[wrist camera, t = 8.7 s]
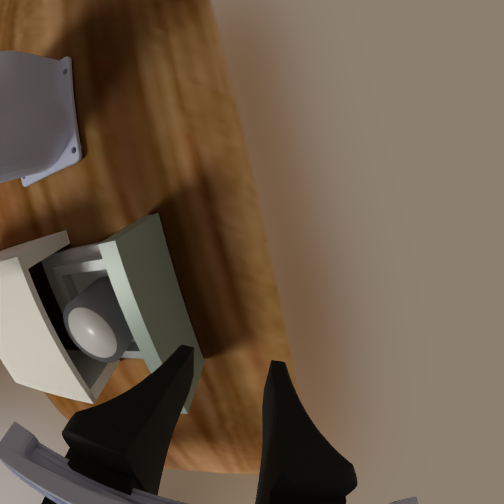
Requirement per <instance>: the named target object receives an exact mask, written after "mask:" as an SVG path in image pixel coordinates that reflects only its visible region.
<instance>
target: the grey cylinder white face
mask: <svg viewBox="0 0 504 504" xmlns="http://www.w3.org/2000/svg"><path fill="white" fill-rule="evenodd" d="M63 319H64V325H65V328H66V330H67V332H68V334H69V336H70V338H71V339H72V341H73V342H74V343H75V344H76V346H77V347H78V348H79V349H80V350H81V351H83V352H84V353H85V354H86V355H88V356H89V357H91V358H93V359H95V360H98V361H101V362H105V363H111V362H115V361H117V360H119V359H120V358H121V357H122V355H123V354H124V352H125V351H126V349H127V348H128V346H129V345H130V343H131V342H132V340H133V339H134V337H133V335H132V333H131V330H130V328H129V326H128V324H127V321H126V319H125V317H124V314H123V312H122V309H121V307H120V304H119V302H118V299H117V297H116V294H115V292H114V289H113V286H112V284H111V281H110V278H109V276H104V277H100V278H98V279H97V280H95V281H94V282H93V283H92V284H90V285H89V286H88V287H87V288H86V289H84V290H83V291H82V292H81V293H80V294H79V295H77V296H76V297H75V298H74V299H73V300H72V301H71V302H69V303H68V304H67V305H66V307H65V309H64V313H63Z"/></svg>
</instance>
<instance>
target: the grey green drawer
mask: <svg viewBox="0 0 504 504" xmlns="http://www.w3.org/2000/svg"><path fill="white" fill-rule="evenodd" d="M41 262H42V265H43V268H44V270H45V273H46V276H47V278H48V281H49V283H50V286H51V288H52V291H53V293H54V296H55V298H56V300H57V303H58V305H59V307H60V309H61V311H62V314H63V313H64V309H65V307H66V305H67V304H68V303H69V302H71V301H72V300H73V299H74V298H75V297H76V296H77V295H79V294H80V293H81V292H82V291H83V290H84V289H86V288H87V287H88V286H89V285H90V284H92V283H93V282H94V281H95V280H97V279H98V278H100V277H104V276H109V278H110V281H111V284H112V286H113V289H114V292H115V294H116V297H117V299H118V302H119V304H120V307H121V309H122V312H123V314H124V317H125V319H126V321H127V324H128V326H129V328H130V330H131V333H132V335H133V337H134V339H133V340H132V342H131V343H130V345H129V346H128V348H127V349H126V351H125V352H124V354H123V355H122V357H121V358H141V359H144V360H145V362H146V364H147V366H148V368H149V370H150V372H151V373H153V372H154V371H155V370H156V369H157V368H158V367H159V366H161V365H162V364H163V363H164V362H165V361H166V360H167V359H168V358H169V357H170V356H171V355H172V354H173V353H174V352H175V351H176V349H177V348H178V347H179V346H180V345H186V346H191V347H194V376H193V380H192V384H191V388H190V391H189V394H188V397H187V399H186V401H185V404H184V406H183V409H182V411H181V413H180V414H188V412H189V409H190V406H191V403H192V400H193V397H194V393H195V390H196V387H197V384H198V381H199V378H200V375H201V372H202V369H203V365H204V362H205V361H204V359H203V356H202V353H201V350H200V348H199V345H198V342H197V339H196V336H195V334H194V331H193V328H192V325H191V322H190V319H189V316H188V313H187V310H186V307H185V304H184V301H183V297H182V294H181V291H180V288H179V285H178V281H177V278H176V275H175V271H174V268H173V264H172V261H171V258H170V254H169V250H168V247H167V243H166V239H165V236H164V232H163V228H162V224H161V220H160V216H159V213H156V214H152V215H147V216H144V217H142V218H140V219H138V220H137V221H135V222H133V223H132V224H130V225H128V226H127V227H125V228H123V229H122V230H120V231H118V232H117V233H115V234H113V235H112V236H110V237H109V238H107V239H105V240H104V241H102V242H98V243H93V244H89V245H84V246H80V247H75V248H71V249H66V250H62V251H58V252H55V253H53V254H51V255H50V256H48V257H46V258H45V259H43V260H41ZM82 353H83V354H85V353H84V352H83V351H82Z"/></svg>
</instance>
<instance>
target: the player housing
mask: <svg viewBox="0 0 504 504" xmlns="http://www.w3.org/2000/svg"><path fill="white" fill-rule="evenodd" d="M68 244H70V241H69V237H68V234H67V231H66V230H65V231H61V232H58V233H54V234H51V235H48V236H44V237H41V238H38V239H35V240H32V241H28V242H25V243H22V244H19V245H16V246H13V247H10V248H7V249H4V250H1V251H0V359H1V360H2V362H3V364H4V365H5V367H6V369H7V370H8V372H9V373H10V375H11V376H12V378H13V379H14V381H15V382H16V383H19V384H22V385H25V386H28V387H31V388H34V389H37V390H40V391H44V392H47V393H51V394H54V395H58V396H62V397H65V398H69V399H74V400H78V401H82V402H87V403H91V404H94V403H95V401H96V400H97V398H98V396H99V395H100V393H101V391H102V390H103V388H104V387H105V385H106V383H107V382H108V380H109V379H110V377H111V376H112V374H113V372H114V371H115V369H116V368H117V366H118V365H119V363H120V360H117V361H115V362H111V363H105V362H101V361H98V360H95V359H93V358H91V357H89V356H88V355H86V354H83V353H82V351H80V350H69V349H65V348H64V347H63V345H62V343H61V341H60V339H59V337H58V335H57V333H56V331H55V330H54V328H53V326H52V324H51V321H50V319H49V317H48V315H47V313H46V311H45V309H44V307H43V304H42V302H41V300H40V298H39V295H38V293H37V290H36V288H35V286H34V283H33V281H32V278H31V275H30V273H29V270H28V269H29V268H30V267H32V266H34V265H35V264H37V263H38V262H40V261H41V260H43V259H45V258H46V257H48V256H50V255H51V254H53V253H55V252H56V251H58V250H60V249H61V248H63V247H65V246H66V245H68Z"/></svg>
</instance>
